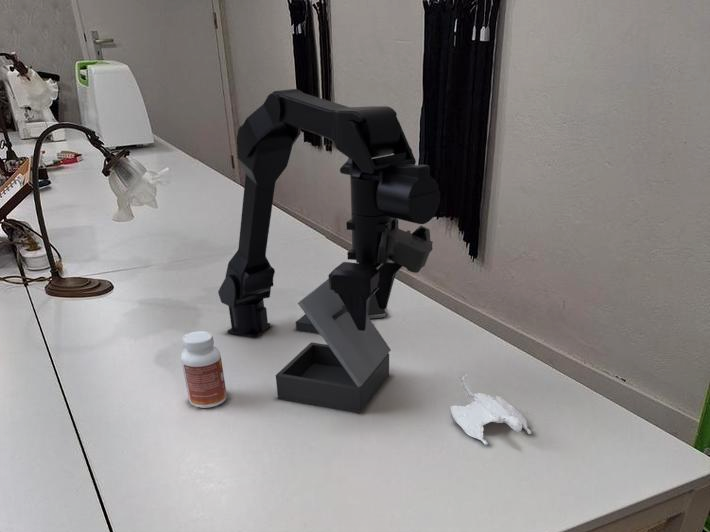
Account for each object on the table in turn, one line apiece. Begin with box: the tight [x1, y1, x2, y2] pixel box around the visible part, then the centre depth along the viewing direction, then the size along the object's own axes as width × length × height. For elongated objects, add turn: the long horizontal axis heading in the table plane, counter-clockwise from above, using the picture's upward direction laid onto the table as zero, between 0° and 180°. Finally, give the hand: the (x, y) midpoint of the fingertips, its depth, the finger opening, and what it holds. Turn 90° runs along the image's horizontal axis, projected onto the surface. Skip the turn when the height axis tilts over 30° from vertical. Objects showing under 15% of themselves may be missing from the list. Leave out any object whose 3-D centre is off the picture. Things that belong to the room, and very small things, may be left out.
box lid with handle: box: [297, 278, 392, 387], centre depth 101 cm, size 15×14×5 cm
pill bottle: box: [180, 330, 228, 409], centre depth 104 cm, size 6×6×11 cm
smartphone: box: [368, 293, 387, 320], centre depth 139 cm, size 8×1×15 cm
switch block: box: [295, 313, 319, 334], centre depth 130 cm, size 10×8×4 cm
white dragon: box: [450, 374, 532, 446], centre depth 99 cm, size 18×10×4 cm, turn 21°
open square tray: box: [275, 341, 390, 414], centre depth 108 cm, size 15×14×4 cm
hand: (372, 319), depth 100 cm, fingers open, 9 cm apart
